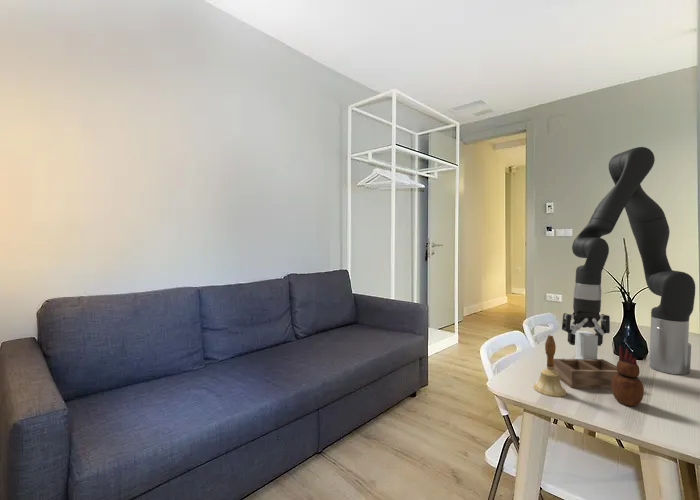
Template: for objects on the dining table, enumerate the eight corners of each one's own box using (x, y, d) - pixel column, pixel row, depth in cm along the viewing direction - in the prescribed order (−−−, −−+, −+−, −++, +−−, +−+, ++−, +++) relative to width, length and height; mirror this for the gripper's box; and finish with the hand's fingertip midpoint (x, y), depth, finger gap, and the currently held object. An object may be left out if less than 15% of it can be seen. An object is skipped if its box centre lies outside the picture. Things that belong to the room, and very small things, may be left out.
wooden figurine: (605, 397, 93) (607, 343, 93) (625, 396, 94) (627, 343, 93) (627, 409, 86) (630, 352, 86) (648, 408, 87) (650, 351, 86)
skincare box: (597, 372, 110) (598, 336, 110) (582, 371, 111) (583, 335, 111) (588, 365, 116) (589, 331, 116) (574, 364, 117) (575, 330, 116)
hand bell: (566, 399, 92) (568, 341, 91) (532, 392, 96) (533, 337, 95) (566, 388, 99) (567, 334, 98) (534, 381, 103) (535, 330, 103)
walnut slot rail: (602, 374, 108) (602, 359, 108) (627, 388, 99) (627, 371, 98) (552, 374, 109) (552, 358, 109) (571, 387, 99) (572, 371, 99)
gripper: (600, 295, 116) (598, 342, 117) (558, 294, 117) (556, 340, 117) (617, 299, 109) (614, 349, 110) (572, 298, 109) (570, 347, 110)
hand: (584, 344), depth 113 cm, fingers open, 8 cm apart
